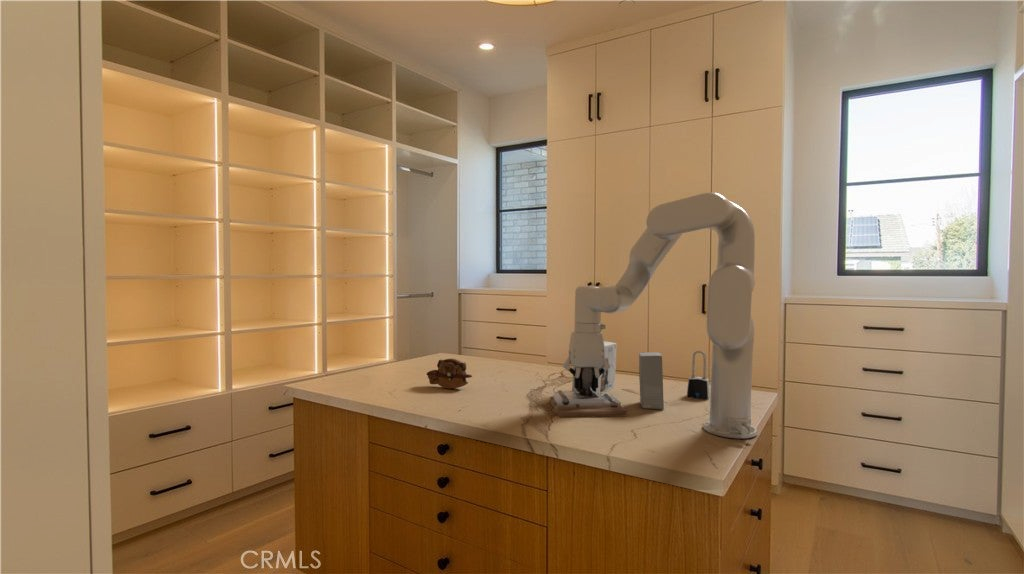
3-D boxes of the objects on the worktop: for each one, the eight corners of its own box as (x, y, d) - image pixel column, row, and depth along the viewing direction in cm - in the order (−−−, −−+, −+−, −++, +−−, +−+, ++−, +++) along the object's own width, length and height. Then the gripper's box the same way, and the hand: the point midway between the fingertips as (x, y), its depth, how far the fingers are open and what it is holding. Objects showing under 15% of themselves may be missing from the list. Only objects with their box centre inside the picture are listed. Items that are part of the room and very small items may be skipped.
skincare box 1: (586, 401, 157) (587, 350, 156) (571, 398, 160) (572, 348, 160) (616, 388, 174) (617, 342, 173) (602, 385, 177) (603, 340, 177)
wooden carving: (423, 388, 171) (423, 358, 171) (429, 385, 176) (430, 356, 175) (469, 392, 167) (469, 361, 166) (474, 388, 171) (474, 359, 171)
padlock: (710, 397, 163) (711, 350, 162) (708, 400, 159) (709, 352, 159) (688, 394, 166) (689, 348, 166) (686, 397, 163) (687, 350, 162)
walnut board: (626, 416, 142) (626, 410, 141) (558, 417, 140) (559, 411, 140) (610, 400, 157) (610, 395, 157) (549, 401, 156) (549, 396, 156)
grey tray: (621, 408, 145) (621, 397, 145) (558, 409, 143) (558, 398, 143) (612, 400, 154) (612, 389, 154) (553, 400, 152) (553, 390, 152)
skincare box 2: (664, 410, 147) (665, 356, 147) (638, 408, 149) (639, 355, 148) (661, 402, 156) (662, 351, 155) (637, 401, 157) (638, 350, 156)
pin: (594, 396, 147) (595, 365, 146) (580, 396, 146) (581, 365, 146) (591, 392, 151) (591, 362, 150) (577, 392, 150) (578, 362, 150)
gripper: (612, 326, 152) (610, 387, 153) (556, 326, 151) (555, 387, 152) (619, 330, 145) (617, 393, 146) (561, 329, 143) (559, 394, 144)
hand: (586, 389), depth 149 cm, fingers closed on pin, 4 cm apart
